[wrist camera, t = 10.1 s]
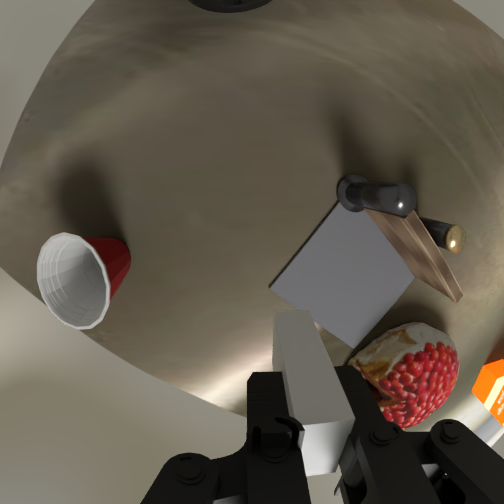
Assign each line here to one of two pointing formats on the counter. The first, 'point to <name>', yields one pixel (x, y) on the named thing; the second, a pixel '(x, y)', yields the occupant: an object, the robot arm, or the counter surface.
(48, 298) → the plastic cup
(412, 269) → the gate
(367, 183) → the salt and pepper shakers
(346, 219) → the rubber mat
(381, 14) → the counter surface
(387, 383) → the strawberry shortcake
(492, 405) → the orange juice
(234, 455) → the robot arm
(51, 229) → the counter surface
